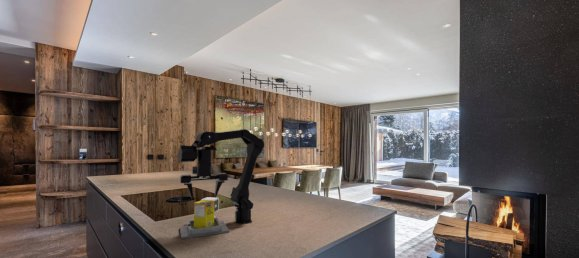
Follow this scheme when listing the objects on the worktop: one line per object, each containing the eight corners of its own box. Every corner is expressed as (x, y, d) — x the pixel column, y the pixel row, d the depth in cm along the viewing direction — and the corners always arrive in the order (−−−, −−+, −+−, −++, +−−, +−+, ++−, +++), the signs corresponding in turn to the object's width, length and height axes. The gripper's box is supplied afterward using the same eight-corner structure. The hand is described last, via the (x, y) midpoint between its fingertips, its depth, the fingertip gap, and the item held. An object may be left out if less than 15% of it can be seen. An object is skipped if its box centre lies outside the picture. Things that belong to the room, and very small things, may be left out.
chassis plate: (222, 222, 119) (222, 216, 119) (229, 232, 106) (229, 225, 106) (179, 228, 112) (180, 221, 112) (181, 239, 99) (181, 231, 99)
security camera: (212, 222, 120) (212, 200, 121) (198, 221, 122) (198, 199, 122) (218, 218, 127) (219, 197, 127) (205, 217, 128) (205, 196, 129)
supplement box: (214, 226, 111) (214, 200, 112) (205, 231, 106) (206, 203, 106) (202, 225, 113) (203, 199, 114) (193, 229, 108) (193, 202, 108)
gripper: (223, 159, 122) (223, 193, 121) (180, 160, 115) (179, 197, 114) (228, 160, 112) (227, 197, 111) (181, 162, 105) (180, 202, 104)
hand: (204, 198), depth 110 cm, fingers open, 9 cm apart
